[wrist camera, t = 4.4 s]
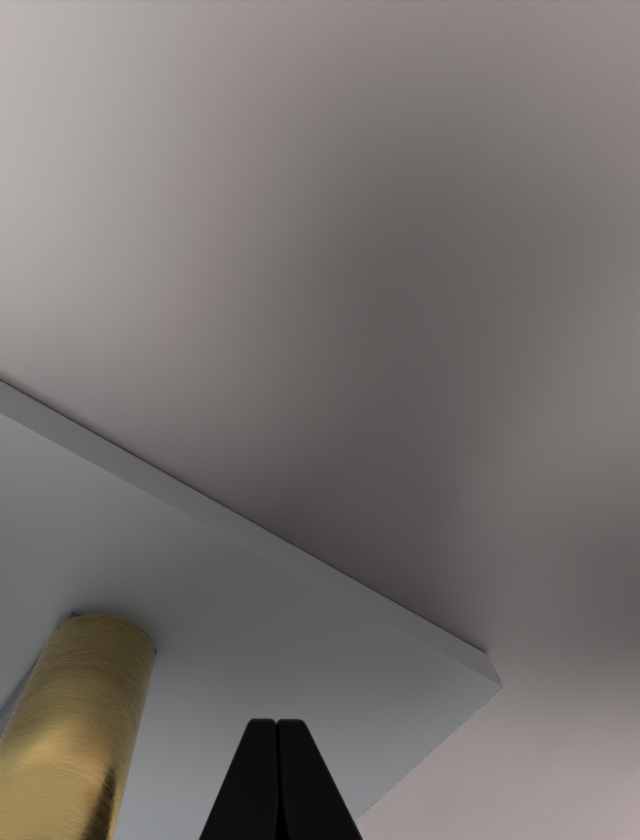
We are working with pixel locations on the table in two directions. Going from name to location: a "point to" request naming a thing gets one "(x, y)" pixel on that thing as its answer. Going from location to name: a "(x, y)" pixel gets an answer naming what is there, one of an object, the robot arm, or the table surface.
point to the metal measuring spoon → (74, 731)
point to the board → (213, 625)
